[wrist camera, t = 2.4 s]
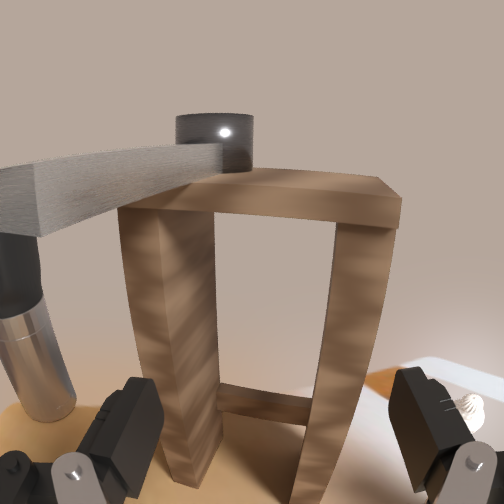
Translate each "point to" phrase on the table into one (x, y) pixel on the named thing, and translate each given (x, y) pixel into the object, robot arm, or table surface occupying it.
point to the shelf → (205, 314)
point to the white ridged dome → (471, 411)
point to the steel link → (121, 174)
